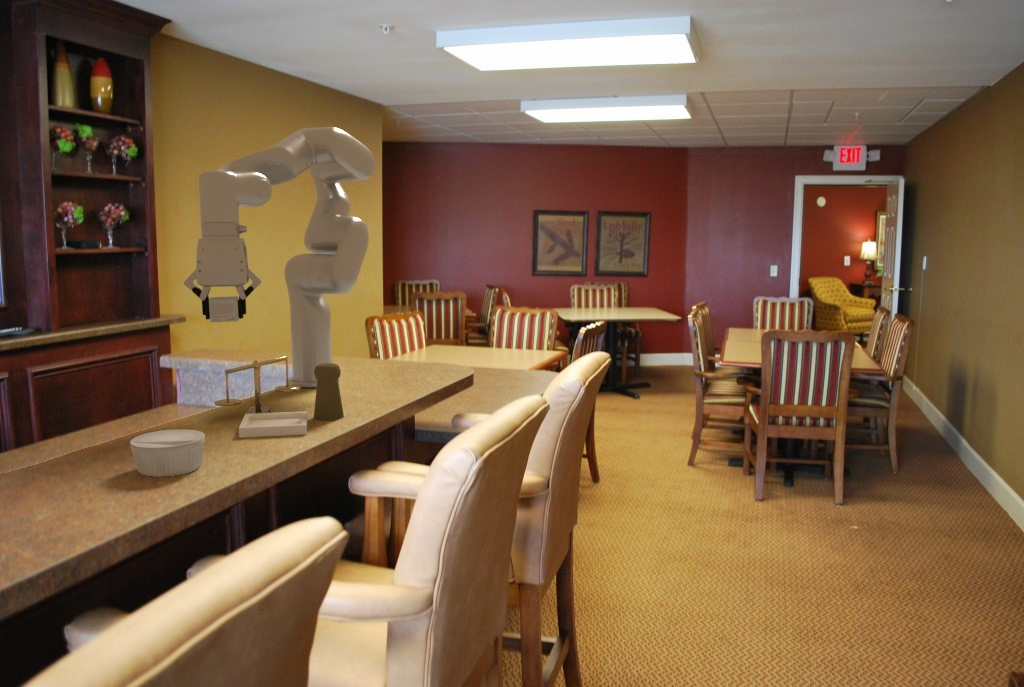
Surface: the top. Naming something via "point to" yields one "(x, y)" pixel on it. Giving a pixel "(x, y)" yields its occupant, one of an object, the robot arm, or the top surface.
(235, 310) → the small box
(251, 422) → the dish
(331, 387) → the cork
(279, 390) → the balance
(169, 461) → the ramekin
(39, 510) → the top surface
